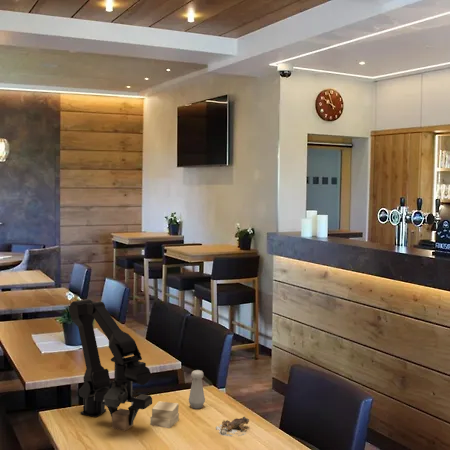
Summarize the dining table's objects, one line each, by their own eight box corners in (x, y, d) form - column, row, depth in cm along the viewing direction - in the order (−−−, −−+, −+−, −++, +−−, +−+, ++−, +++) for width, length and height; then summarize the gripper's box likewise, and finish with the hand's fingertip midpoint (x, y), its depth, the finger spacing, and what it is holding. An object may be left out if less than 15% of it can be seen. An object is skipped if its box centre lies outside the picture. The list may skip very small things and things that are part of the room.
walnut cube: (111, 428, 198) (112, 413, 197) (119, 422, 202) (120, 408, 202) (125, 431, 196) (125, 416, 195) (133, 425, 201) (133, 410, 200)
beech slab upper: (151, 417, 201) (152, 408, 200) (158, 409, 207) (158, 401, 207) (172, 420, 199) (172, 411, 199) (178, 411, 206) (178, 403, 206)
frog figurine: (244, 421, 208) (244, 410, 207) (255, 435, 196) (256, 424, 196) (211, 424, 204) (211, 413, 204) (221, 439, 193) (221, 427, 193)
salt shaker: (202, 410, 215) (203, 374, 214) (186, 408, 216) (187, 373, 215) (206, 404, 220) (207, 369, 219) (191, 403, 221) (191, 368, 220)
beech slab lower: (150, 425, 201) (150, 417, 201) (159, 418, 208) (160, 409, 208) (169, 429, 199) (169, 420, 199) (178, 421, 205) (178, 412, 205)
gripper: (84, 380, 194) (84, 428, 195) (136, 389, 187) (135, 438, 188) (103, 370, 204) (103, 415, 205) (153, 378, 197) (152, 425, 199)
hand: (122, 423), depth 199 cm, fingers open, 6 cm apart
